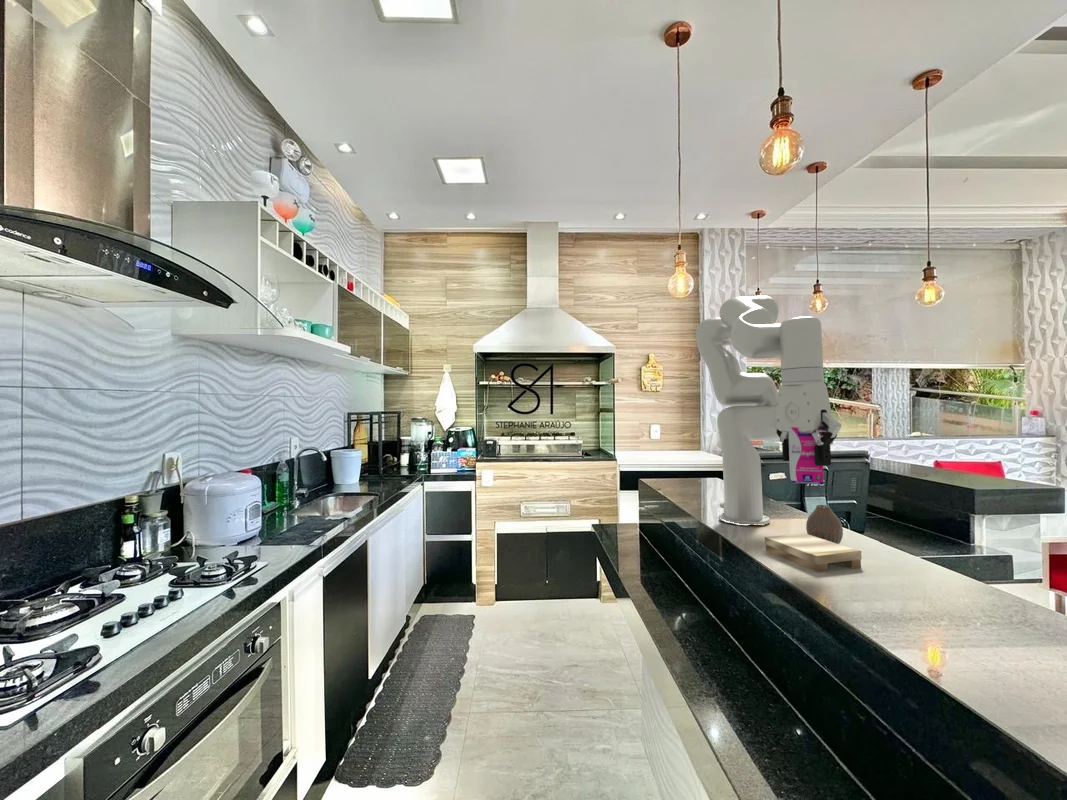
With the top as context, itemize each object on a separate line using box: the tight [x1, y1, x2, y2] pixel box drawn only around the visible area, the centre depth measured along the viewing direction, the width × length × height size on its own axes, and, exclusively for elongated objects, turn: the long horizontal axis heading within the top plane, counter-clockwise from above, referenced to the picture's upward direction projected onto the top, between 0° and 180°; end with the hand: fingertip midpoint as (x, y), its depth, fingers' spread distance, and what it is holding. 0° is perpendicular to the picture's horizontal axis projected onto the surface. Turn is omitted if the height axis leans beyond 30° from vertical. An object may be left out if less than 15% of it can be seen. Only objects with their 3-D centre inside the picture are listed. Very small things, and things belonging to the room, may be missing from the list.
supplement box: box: [788, 427, 825, 486], centre depth 94 cm, size 6×6×12 cm
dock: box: [764, 532, 862, 573], centre depth 93 cm, size 14×10×3 cm
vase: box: [805, 504, 844, 544], centre depth 102 cm, size 7×7×9 cm
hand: (805, 462), depth 94 cm, fingers closed on supplement box, 8 cm apart
